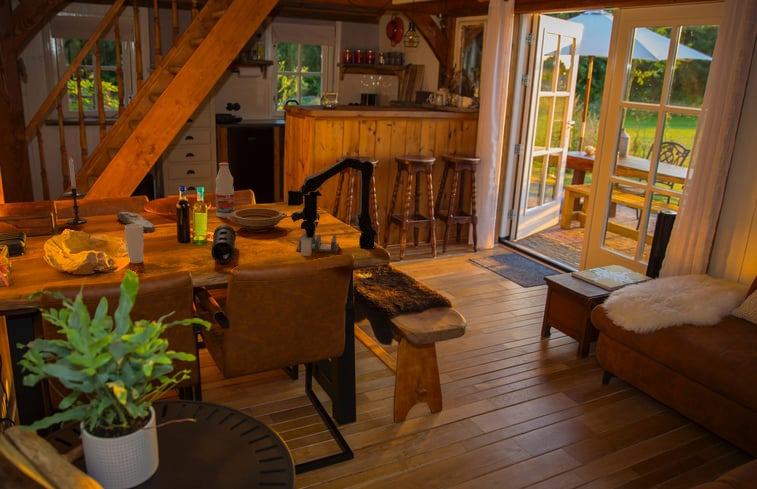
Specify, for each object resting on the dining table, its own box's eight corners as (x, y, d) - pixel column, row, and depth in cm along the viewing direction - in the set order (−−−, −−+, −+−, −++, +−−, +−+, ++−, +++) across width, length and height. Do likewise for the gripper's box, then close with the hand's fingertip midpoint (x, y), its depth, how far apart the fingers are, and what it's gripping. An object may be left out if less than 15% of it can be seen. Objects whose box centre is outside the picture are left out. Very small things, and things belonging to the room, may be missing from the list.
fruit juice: (232, 213, 325) (230, 161, 317) (236, 217, 317) (235, 164, 309) (214, 214, 321) (212, 162, 313) (218, 218, 313) (217, 165, 305)
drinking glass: (147, 259, 245) (145, 223, 241) (142, 264, 238) (139, 228, 234) (130, 258, 244) (128, 223, 240) (124, 264, 238) (121, 227, 234)
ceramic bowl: (280, 221, 313) (280, 206, 311) (293, 233, 292) (293, 217, 290) (222, 224, 301) (222, 209, 299) (232, 237, 280) (232, 221, 278)
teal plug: (306, 241, 271) (306, 226, 269) (315, 241, 271) (315, 226, 269) (305, 244, 267) (305, 228, 265) (314, 244, 267) (314, 229, 265)
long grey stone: (139, 236, 281) (160, 234, 287) (139, 226, 279) (160, 224, 286) (112, 217, 304) (131, 216, 311) (111, 207, 303) (131, 206, 310)
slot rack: (338, 246, 275) (339, 235, 273) (336, 253, 264) (337, 242, 263) (299, 244, 275) (299, 233, 273) (296, 251, 264) (296, 240, 263)
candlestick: (82, 225, 289) (75, 152, 279) (60, 224, 289) (52, 151, 279) (93, 220, 299) (87, 149, 290) (71, 219, 300) (64, 148, 290)
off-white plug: (311, 253, 263) (311, 237, 261) (310, 255, 259) (310, 240, 257) (302, 252, 263) (302, 237, 261) (301, 255, 259) (301, 239, 257)
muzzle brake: (211, 266, 241) (210, 241, 238) (214, 246, 267) (213, 223, 264) (235, 265, 243) (234, 241, 240) (236, 245, 269) (235, 223, 266)
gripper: (295, 200, 273) (295, 233, 277) (289, 209, 255) (289, 244, 259) (320, 201, 273) (319, 234, 277) (315, 210, 255) (314, 245, 259)
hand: (310, 239), depth 268 cm, fingers closed on teal plug, 4 cm apart
